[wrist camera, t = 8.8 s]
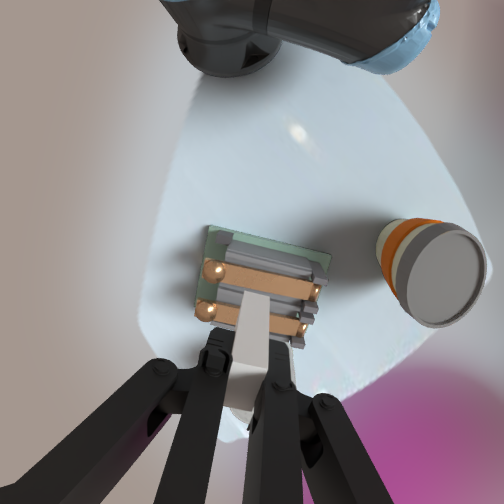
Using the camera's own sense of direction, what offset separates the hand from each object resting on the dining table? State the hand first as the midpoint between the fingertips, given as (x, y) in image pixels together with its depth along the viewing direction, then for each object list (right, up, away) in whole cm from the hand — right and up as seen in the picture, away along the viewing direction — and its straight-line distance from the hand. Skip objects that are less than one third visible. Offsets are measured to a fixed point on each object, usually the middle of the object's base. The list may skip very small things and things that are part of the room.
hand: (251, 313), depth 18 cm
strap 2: (0, -5, +22) cm, 23 cm away
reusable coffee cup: (+23, +4, +25) cm, 35 cm away
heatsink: (+1, -1, +28) cm, 28 cm away
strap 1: (+1, 0, +21) cm, 21 cm away
